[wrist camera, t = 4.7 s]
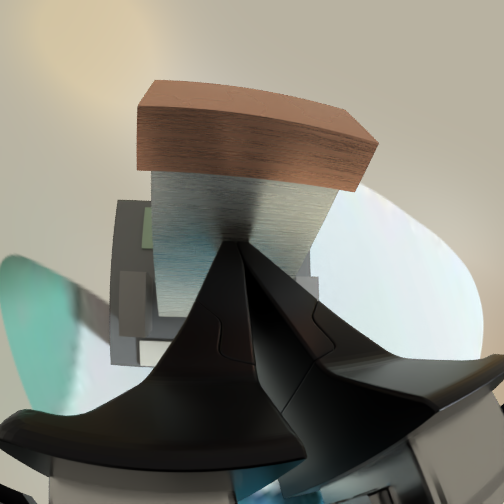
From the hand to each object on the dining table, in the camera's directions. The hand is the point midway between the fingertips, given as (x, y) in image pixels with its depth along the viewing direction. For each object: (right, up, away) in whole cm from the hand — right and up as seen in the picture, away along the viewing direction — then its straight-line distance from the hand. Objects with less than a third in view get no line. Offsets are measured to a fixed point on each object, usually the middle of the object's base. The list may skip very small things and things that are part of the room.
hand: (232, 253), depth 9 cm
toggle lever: (-1, -2, +4) cm, 5 cm away
